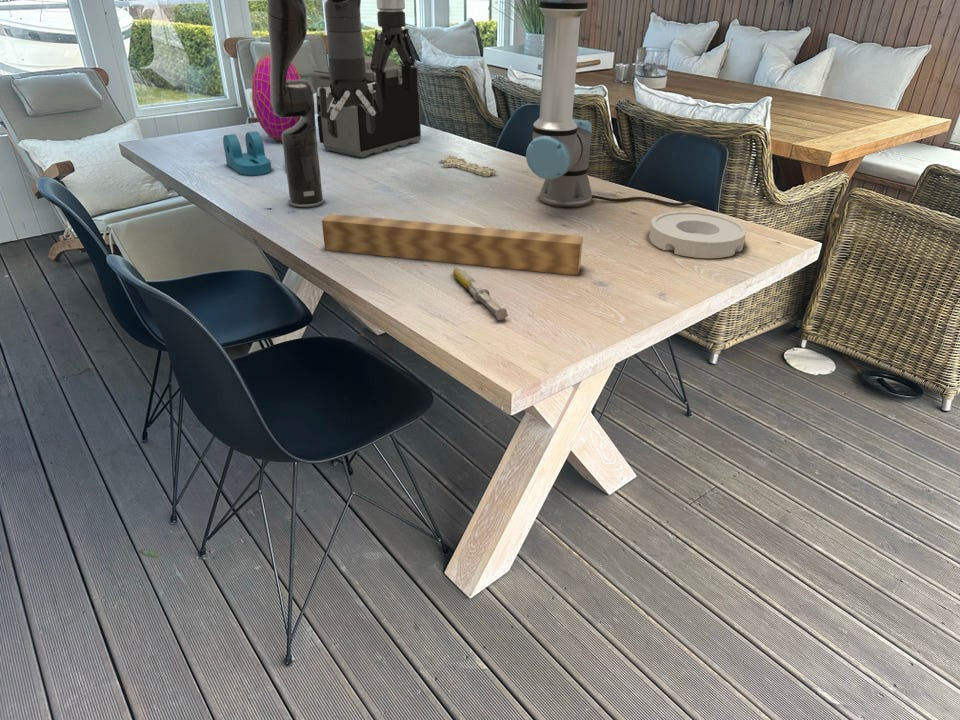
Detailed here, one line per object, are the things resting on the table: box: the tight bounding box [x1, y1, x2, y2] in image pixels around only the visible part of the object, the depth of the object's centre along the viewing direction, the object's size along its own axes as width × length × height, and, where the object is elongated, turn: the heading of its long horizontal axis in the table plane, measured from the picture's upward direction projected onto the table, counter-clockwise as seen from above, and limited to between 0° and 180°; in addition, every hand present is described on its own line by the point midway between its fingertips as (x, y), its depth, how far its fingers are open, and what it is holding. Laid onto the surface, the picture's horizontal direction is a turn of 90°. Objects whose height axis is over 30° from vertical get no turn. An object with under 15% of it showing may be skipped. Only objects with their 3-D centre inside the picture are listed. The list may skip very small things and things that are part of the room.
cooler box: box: [310, 55, 422, 159], centre depth 250 cm, size 37×22×30 cm, turn 144°
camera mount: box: [222, 131, 272, 176], centre depth 226 cm, size 18×10×10 cm, turn 35°
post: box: [321, 213, 584, 276], centre depth 161 cm, size 62×5×8 cm, turn 77°
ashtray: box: [648, 210, 747, 259], centre depth 174 cm, size 23×23×4 cm
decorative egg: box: [251, 54, 302, 142], centre depth 257 cm, size 19×19×30 cm
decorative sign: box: [440, 154, 496, 177], centre depth 233 cm, size 26×1×10 cm
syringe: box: [452, 266, 509, 321], centre depth 145 cm, size 25×4×3 cm, turn 21°
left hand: (352, 134), depth 151 cm, fingers open, 8 cm apart
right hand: (395, 93), depth 197 cm, fingers open, 13 cm apart
